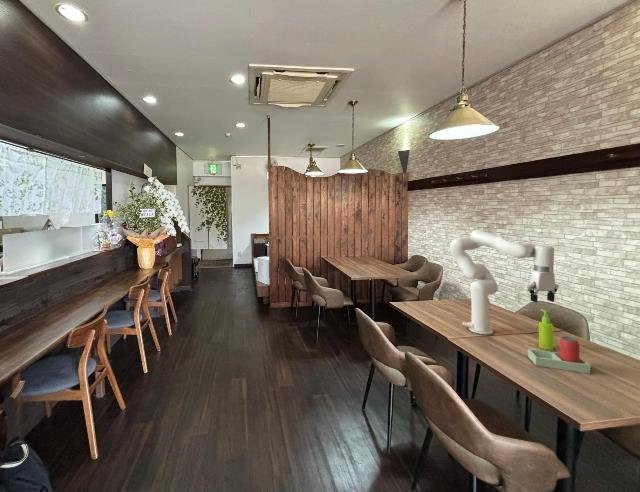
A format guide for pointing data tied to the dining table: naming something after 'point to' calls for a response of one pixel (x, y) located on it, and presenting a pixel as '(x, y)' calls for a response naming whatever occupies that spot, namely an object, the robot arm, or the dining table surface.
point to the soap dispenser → (546, 332)
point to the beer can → (569, 349)
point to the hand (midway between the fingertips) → (542, 301)
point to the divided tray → (556, 361)
